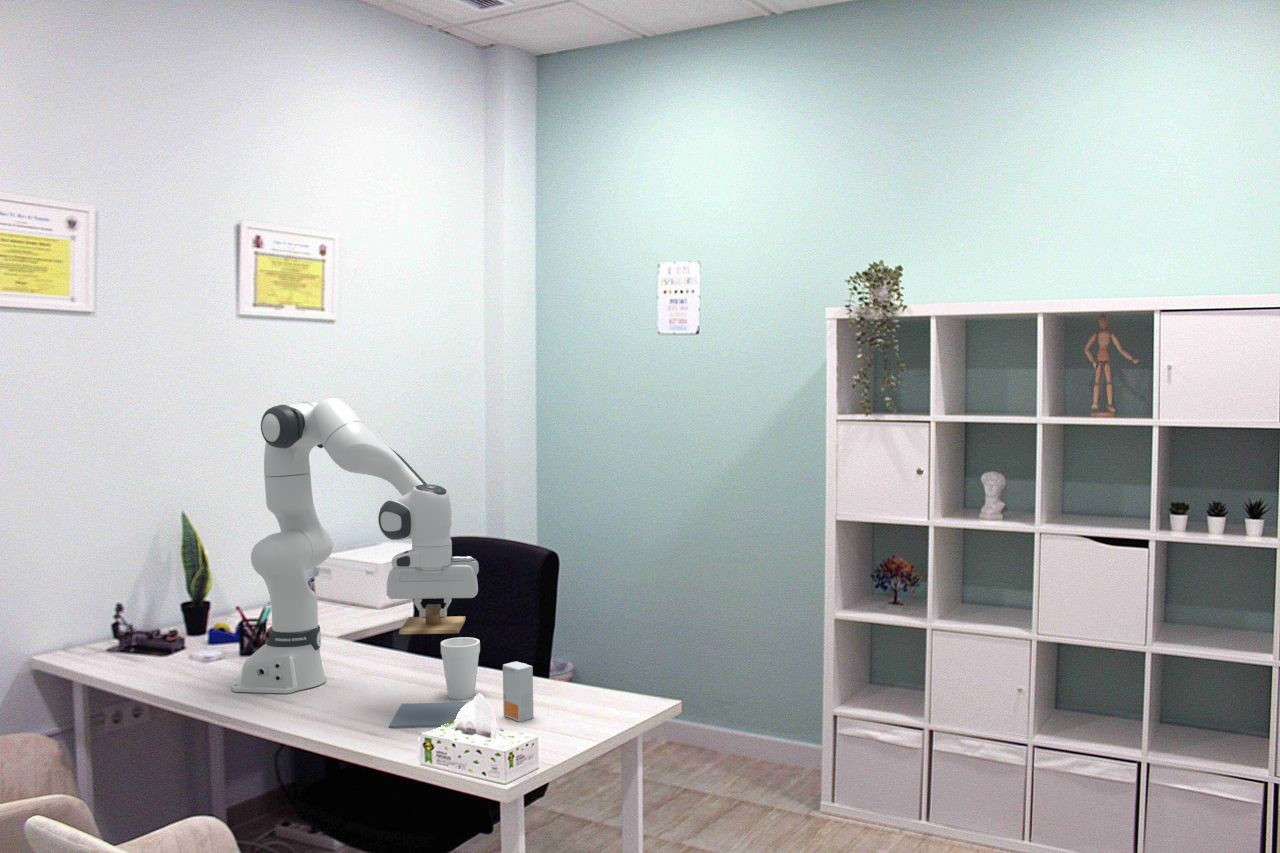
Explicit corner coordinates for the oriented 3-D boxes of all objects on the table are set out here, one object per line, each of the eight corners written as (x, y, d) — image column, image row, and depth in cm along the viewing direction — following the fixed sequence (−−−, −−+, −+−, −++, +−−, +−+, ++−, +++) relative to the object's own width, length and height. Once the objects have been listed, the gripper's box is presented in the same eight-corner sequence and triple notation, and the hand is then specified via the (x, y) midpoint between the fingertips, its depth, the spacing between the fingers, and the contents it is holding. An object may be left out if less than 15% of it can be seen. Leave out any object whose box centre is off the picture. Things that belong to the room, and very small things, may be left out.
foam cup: (433, 698, 257) (432, 644, 256) (457, 687, 265) (456, 635, 265) (465, 703, 253) (464, 648, 252) (488, 692, 261) (487, 639, 260)
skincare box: (502, 716, 242) (501, 664, 242) (517, 712, 245) (516, 660, 245) (519, 722, 238) (518, 669, 237) (534, 718, 241) (533, 665, 240)
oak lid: (399, 634, 236) (398, 612, 236) (409, 620, 249) (408, 600, 249) (458, 633, 237) (458, 611, 236) (465, 619, 250) (465, 599, 249)
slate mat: (388, 727, 235) (388, 725, 235) (401, 705, 251) (401, 703, 251) (471, 725, 236) (471, 723, 236) (479, 703, 252) (479, 701, 252)
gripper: (479, 553, 246) (480, 613, 246) (389, 555, 245) (390, 615, 245) (477, 558, 239) (477, 619, 240) (384, 559, 238) (385, 621, 239)
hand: (433, 617), depth 243 cm, fingers closed on oak lid, 3 cm apart
